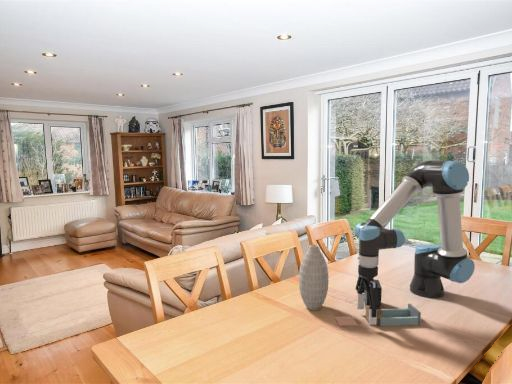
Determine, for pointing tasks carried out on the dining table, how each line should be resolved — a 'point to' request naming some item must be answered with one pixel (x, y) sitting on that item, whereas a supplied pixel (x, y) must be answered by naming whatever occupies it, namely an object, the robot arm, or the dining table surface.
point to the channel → (407, 316)
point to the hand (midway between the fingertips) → (366, 316)
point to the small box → (378, 294)
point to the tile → (346, 321)
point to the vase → (313, 278)
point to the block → (379, 314)
